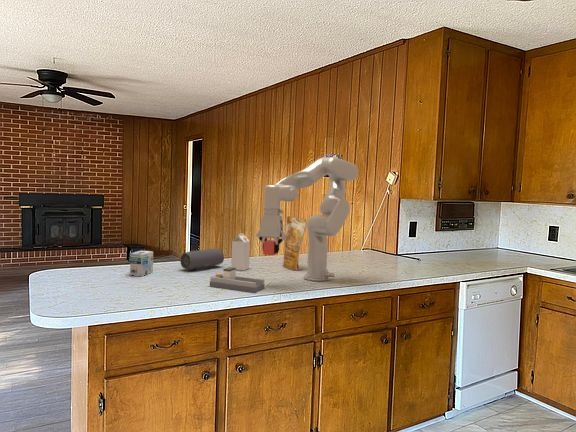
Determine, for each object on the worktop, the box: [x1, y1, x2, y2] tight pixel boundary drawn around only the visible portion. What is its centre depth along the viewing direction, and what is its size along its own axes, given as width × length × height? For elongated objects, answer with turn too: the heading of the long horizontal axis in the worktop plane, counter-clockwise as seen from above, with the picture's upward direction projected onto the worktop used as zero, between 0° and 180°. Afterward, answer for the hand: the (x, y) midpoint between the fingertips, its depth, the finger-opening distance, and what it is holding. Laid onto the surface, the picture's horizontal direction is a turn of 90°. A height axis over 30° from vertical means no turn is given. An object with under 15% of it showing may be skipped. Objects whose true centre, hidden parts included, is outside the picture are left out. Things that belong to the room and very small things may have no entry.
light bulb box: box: [129, 250, 154, 277], centre depth 220 cm, size 11×7×11 cm, turn 168°
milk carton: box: [230, 232, 251, 271], centre depth 242 cm, size 7×7×19 cm
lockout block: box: [262, 239, 279, 256], centre depth 207 cm, size 5×5×6 cm
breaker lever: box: [222, 266, 237, 280], centre depth 202 cm, size 3×6×6 cm, turn 157°
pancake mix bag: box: [282, 216, 308, 271], centre depth 250 cm, size 7×19×28 cm, turn 26°
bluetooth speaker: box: [179, 248, 225, 271], centre depth 239 cm, size 23×9×10 cm, turn 141°
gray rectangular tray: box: [209, 272, 266, 294], centre depth 201 cm, size 22×10×5 cm, turn 67°
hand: (270, 251), depth 207 cm, fingers closed on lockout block, 5 cm apart
